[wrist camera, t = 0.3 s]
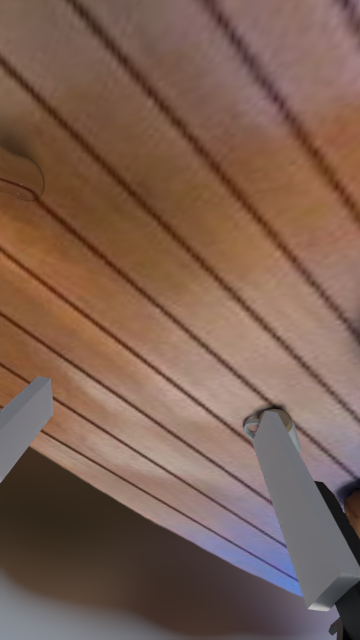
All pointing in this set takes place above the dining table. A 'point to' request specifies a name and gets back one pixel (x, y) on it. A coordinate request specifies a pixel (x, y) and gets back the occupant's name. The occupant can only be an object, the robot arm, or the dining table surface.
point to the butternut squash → (353, 510)
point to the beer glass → (20, 176)
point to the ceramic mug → (286, 421)
